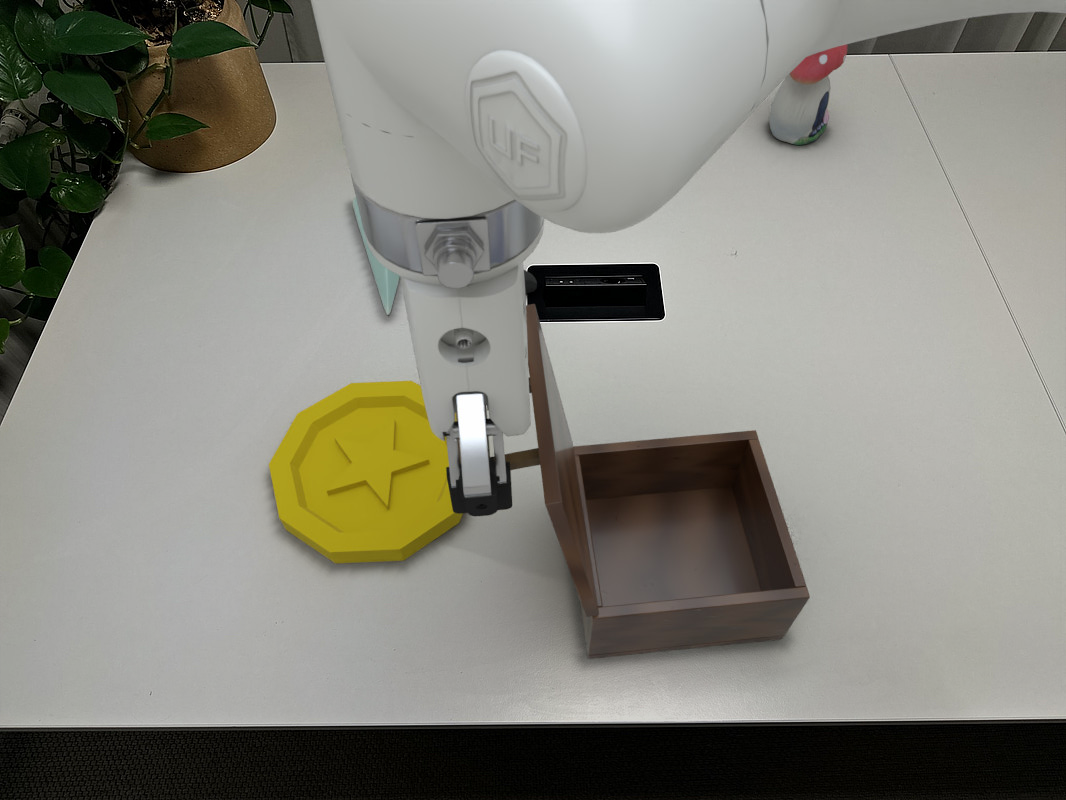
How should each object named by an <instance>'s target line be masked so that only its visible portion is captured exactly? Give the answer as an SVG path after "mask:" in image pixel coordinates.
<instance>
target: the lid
mask: <svg viewBox="0 0 1066 800" xmlns="http://www.w3.org/2000/svg"><path fill="white" fill-rule="evenodd" d="M526 317H527V345H528V374H529V394H531V401H532V407H533V408H532V409H533V415H534V423H535V432H536V440H537V441H536V443H537V448H531V449H526V450H525V449H524V450H521V451H516V452H515V451H514V452H509V453H505V461H506V462H510V469H511V471H513V470H514V471H515V470H520V469H525V468H529V467H530V468H531V467H536V466H540V474H541V475H540V476H541V482H542V488H543V498H544V505H545V509H546V511H547V514H548V516H549V519H550V522H551V525H552V527H553V530H554V532H555V536H556V538H557V541H558V543H559V546H560V548H561V552H562V554H563V557H564V559H565V562H566V565H567V568H568V570H569V573H570V576H571V578H572V581H573V584H574V586H575V589H576V592H577V594H578V598H580V600H581V603H582V606H583V608H584V611H585V614H586V616H587V617H590V616H596V615H599V609H598V603H597V596H596V590H595V583H594V577H593V570H592V564H591V557H590V551H589V544H588V538H587V531H586V525H585V518H584V512H583V505H582V499H581V493H580V486H579V480H578V473H577V467H576V460H575V454H574V447H573V446H574V441H573V437H572V435H571V431H570V426H569V423H568V420H567V416H566V412H565V408H564V406H563V401H562V398H561V395H560V390H559V387H558V383H557V380H556V376H555V372H554V368H553V365H552V361H551V357H550V354H549V350H548V347H547V343H546V340H545V336H544V332H543V329H542V325H541V321H540V317H539V314H538V311H537V307H536V304H535V303H531V304H526ZM484 407H485V419H488V411H487V405H484ZM456 421H458V413H456ZM458 442H459V453H460V440H459V439H458ZM487 444H488V457H489V458H490V457H491V450H490V449H491V448H490V436H487ZM492 457H493V458H494V455H493V456H492ZM494 461H495V458H494ZM460 463H461V453H460ZM580 600H579V601H580Z"/></svg>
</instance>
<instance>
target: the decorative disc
mask: <svg viewBox="0 0 1066 800" xmlns="http://www.w3.org/2000/svg"><path fill="white" fill-rule="evenodd" d="M455 421H456V413H455ZM268 467H269V472H270V478H271V482H272V488H273V493H274V498H275V503H276V509H277V514H278V519H279V520H280V523H281V524H282V526H283V527H284V529H285V531H287V532H288V533H289V534H291V535H293V536H294V537H295V538H297V539H298V540H300V541H302V543H304V544H305V545H307V546H309V548H312V549H313V550H314V551H316V552H318V553H319V554H321V555H322V556H323V557H325V558H326V559H328V560H329V561H330V562H332V563H334V564H336V565H337V564H352V563H353V564H357V563H381V562H402V561H405V560H407V559H408V558H410V557H411V556H413V555H414V554H416V553H417V552H419V551H420V550H421V549H423V548H424V547H426V546H428V545H429V544H430V543H432V542H434V541H435V540H437V539H438V538H439V537H441V536H442V535H444V534H445V533H447V532H448V531H450V530H451V529H453V528H454V527H455V526H457V525H458V524H460V523H461V521H462V518H463V515H464V513H461V514H458V513H454V512H453V509H452V503H451V498H450V492H449V487H448V481H447V475H446V467H449V460H448V450H447V439H446V437H445V441H443V440H441V439H439V438H438V437H437V436H436V435H435V434H434V433H433V432H432V430H431V427H430V424H429V421H428V416H427V412H426V408H425V404H424V399H423V395H422V390H421V385H420V383H417V382H415V381H413V380H396V381H394V380H393V381H392V380H391V381H368V382H350V383H349V384H347V385H345V386H343V387H342V388H340V389H338V390H336V391H335V392H333V393H331V394H329V395H327V396H326V397H323V398H322V399H320V400H319V401H317V402H315V403H313V404H311V405H310V406H308V407H306V408H304V409H303V410H301V411H300V412H297V414H296V415H295V416H294V419H293V421H292V423H290V425H289V427H288V429H287V431H286V433H285V435H284V437H283V438H282V440H281V441H280V443H279V445H278V447H277V448H276V450H275V452H274V454H273V456H272V458H271V459H270V461H269V463H268Z"/></svg>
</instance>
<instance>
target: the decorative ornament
mask: <svg viewBox="0 0 1066 800" xmlns="http://www.w3.org/2000/svg"><path fill="white" fill-rule="evenodd" d="M847 54H848V44H846V45H842V46H838V47H834V48H831V49H828V50H825V51H822V52H818V53H816V54H813V55H810V56H808V57H806V58H805V59H804V60H803V61H802V62H801V63H800V64H799V65H798V66H797V67H796V68H795V69H794V70H793V71H792V72H791V73H790V74H789V75H787V76H786V77H785V79H784V80H783V81H782V82H781V84H780V85H779V88H778V89H777V91H776V93H775V95H774V97H773V99H772V102H771V104H770V105H771V106H770V109H769V110H770V111H769V121H768V122H769V128H770V131H771V134H772V136H773V137H774V138H776V139H777V140H778V141H781V142H785V143H788V144H792V145H794V146H798V147H799V146H802V145H807V144H810V143H812V142H815V141H816V140H818V138H820V136H821V135H822V134H823V133H824V132H825V130H826V128H827V126H828V124H829V121H830V113H829V110H828V106H829V102H830V97H831V80H830V77H829V75H830V74H832V73H833V72H834V71H836V70H837V69H840V67H842V65H843V64H844V63H845V61H846V59H847Z"/></svg>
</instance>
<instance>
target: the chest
mask: <svg viewBox="0 0 1066 800" xmlns="http://www.w3.org/2000/svg"><path fill="white" fill-rule="evenodd" d="M758 435H759V434H758V432H757V430H756V429H754V430H742V431H731V432H720V433H709V434H708V433H707V434H698V435H697V434H696V435H686V436H685V435H684V436H675V437H664V438H663V437H662V438H653V439H641V440H630V441H629V440H628V441H619V442H607V443H597V444H585V445H576V446H575V445H573V447H574V454H575V460H576V467H577V473H578V480H579V486H580V493H581V499H582V505H583V512H584V518H585V525H586V531H587V538H588V544H589V551H590V557H591V564H592V570H593V577H594V583H595V590H596V596H597V603H598V609H599V615H596V616H590V617H587V616H586V614H585V611H584V608H583V606H582V603H581V600H580V598H579V597H578V598H579V599H578V600H579V605H580V613H581V619H582V620H581V621H582V628H583V634H584V642H585V643H584V644H585V650H586V655H587V656H586V657H587V659H589V660H590V659H601V658H610V657H620V656H629V655H640V654H649V653H660V652H669V651H679V650H688V649H699V648H709V647H718V646H727V645H728V646H729V645H738V644H747V643H757V642H758V643H759V642H766V641H767V642H768V641H777V640H778V641H779V640H782V639H784V637H785V635H786V634H787V633H788V631H789V630H790V628H791V627H792V625H793V623H794V622H795V621H796V619H798V616H799V615H800V613H801V612H802V610H803V609H804V607H805V606H806V604H807V603H808V601H809V600H810V598H811V595H810V592H809V589H808V587H807V583H806V580H805V577H804V574H803V570H802V567H801V564H800V561H799V559H798V555H797V552H796V549H795V547H794V544H793V540H792V537H791V535H790V530H789V528H788V523H787V522H786V518H785V516H784V512H783V509H782V506H781V503H780V500H779V498H778V494H777V491H776V488H775V485H774V482H773V479H772V475H771V473H770V470H769V466H768V463H767V460H766V458H765V457H766V456H765V454H764V452H763V448H762V445H761V442H760V439H759V436H758Z"/></svg>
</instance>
